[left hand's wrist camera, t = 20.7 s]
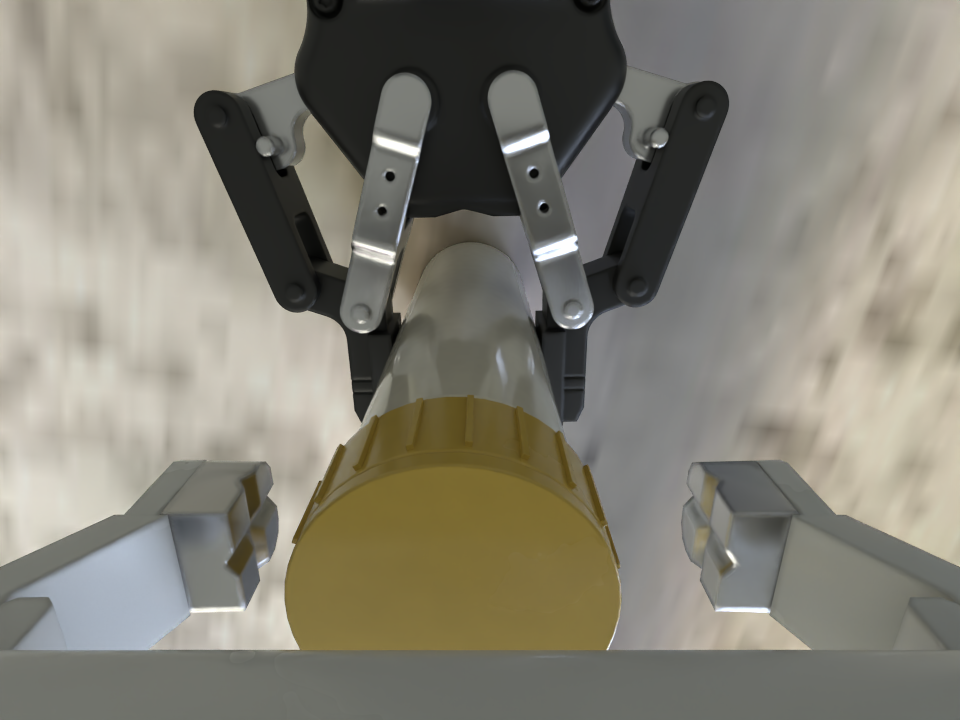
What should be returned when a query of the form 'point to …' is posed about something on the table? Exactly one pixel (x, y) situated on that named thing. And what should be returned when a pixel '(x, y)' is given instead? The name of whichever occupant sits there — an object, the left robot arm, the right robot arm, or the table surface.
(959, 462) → the table surface
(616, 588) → the lid
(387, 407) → the jar
